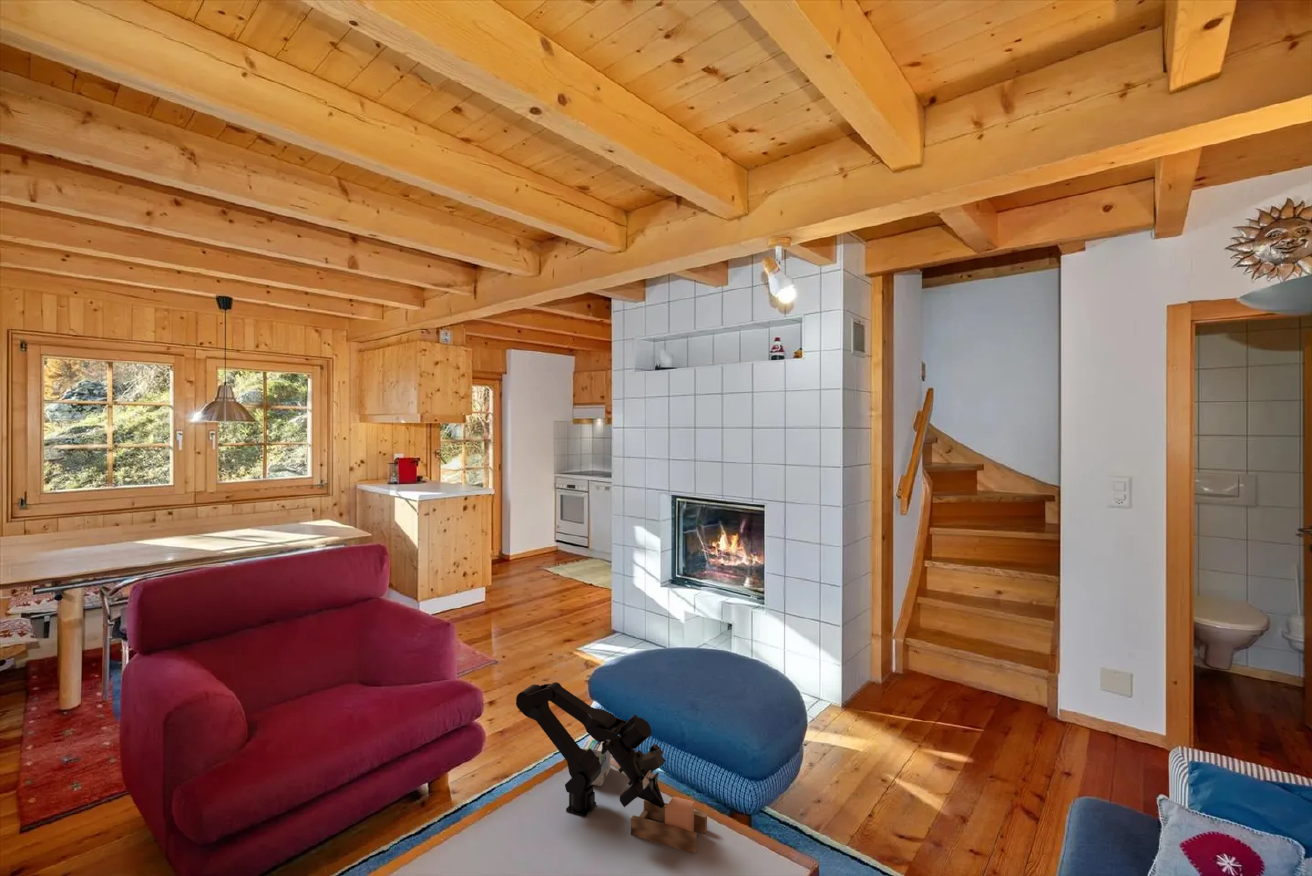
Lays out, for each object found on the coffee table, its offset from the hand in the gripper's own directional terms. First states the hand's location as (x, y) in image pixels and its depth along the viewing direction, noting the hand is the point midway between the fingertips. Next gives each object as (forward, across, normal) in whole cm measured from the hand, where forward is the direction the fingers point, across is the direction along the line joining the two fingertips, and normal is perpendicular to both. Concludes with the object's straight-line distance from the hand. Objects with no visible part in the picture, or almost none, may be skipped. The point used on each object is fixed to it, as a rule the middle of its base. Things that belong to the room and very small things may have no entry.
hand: (663, 806), depth 161 cm
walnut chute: (+6, 0, +4) cm, 7 cm away
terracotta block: (+8, 0, +1) cm, 8 cm away
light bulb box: (-16, +16, +26) cm, 34 cm away
